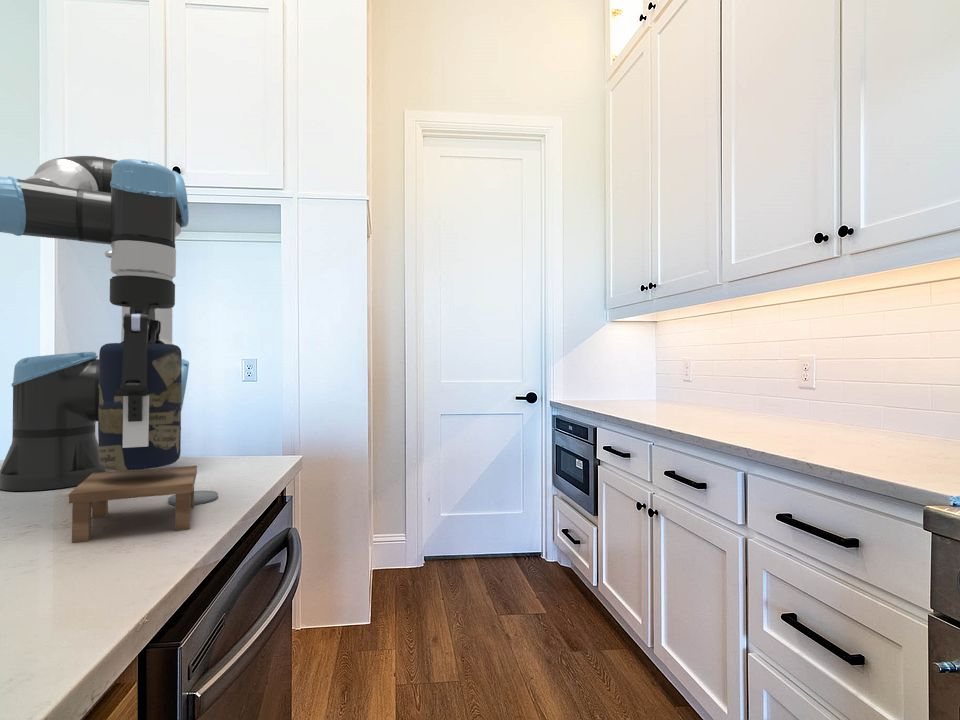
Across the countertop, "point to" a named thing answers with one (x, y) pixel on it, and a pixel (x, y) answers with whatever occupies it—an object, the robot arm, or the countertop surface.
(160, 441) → the canister
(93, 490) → the step stool
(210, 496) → the slate coaster
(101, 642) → the countertop surface
